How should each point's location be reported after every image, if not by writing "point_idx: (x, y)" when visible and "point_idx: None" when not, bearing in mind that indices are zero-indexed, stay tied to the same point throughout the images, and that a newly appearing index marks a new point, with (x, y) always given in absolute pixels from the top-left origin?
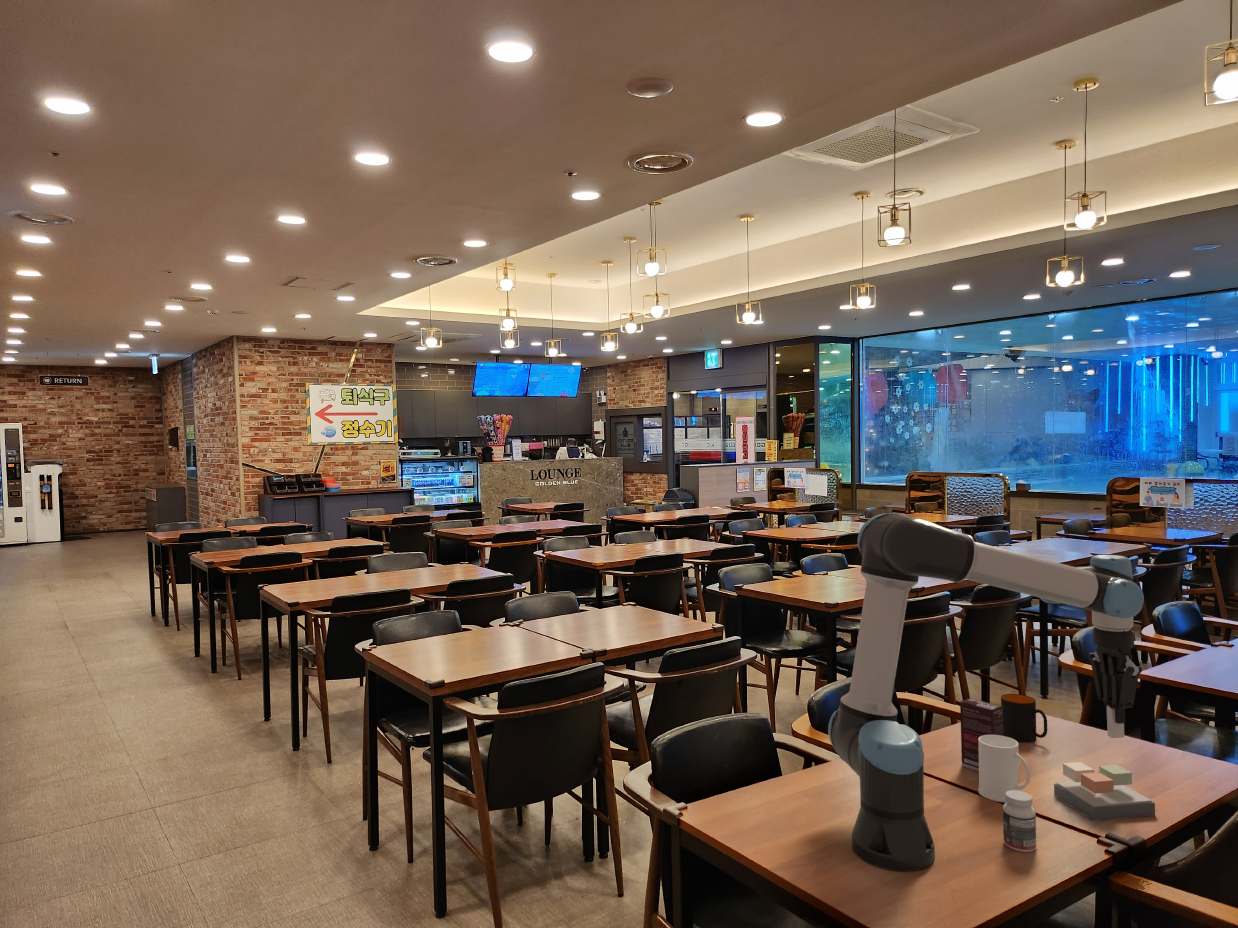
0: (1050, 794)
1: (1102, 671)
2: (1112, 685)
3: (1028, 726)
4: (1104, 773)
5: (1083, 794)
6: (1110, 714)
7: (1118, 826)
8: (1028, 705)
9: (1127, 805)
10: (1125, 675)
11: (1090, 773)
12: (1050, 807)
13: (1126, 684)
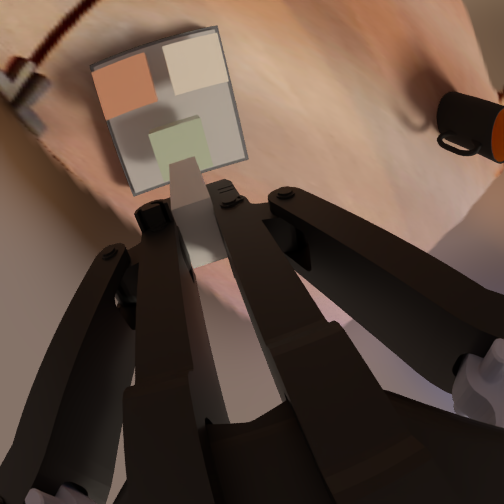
0: (217, 24)
1: (307, 338)
2: (174, 304)
3: (457, 125)
4: (180, 121)
5: (148, 62)
6: (181, 191)
7: (76, 105)
8: (487, 137)
9: (112, 138)
10: (31, 452)
11: (146, 77)
12: (151, 4)
13: (35, 385)
